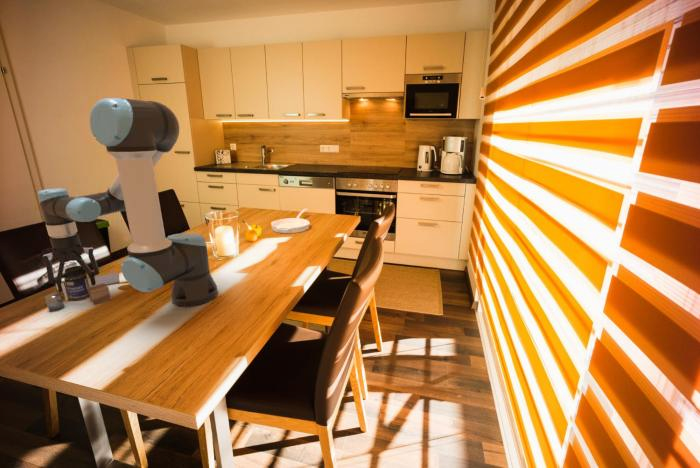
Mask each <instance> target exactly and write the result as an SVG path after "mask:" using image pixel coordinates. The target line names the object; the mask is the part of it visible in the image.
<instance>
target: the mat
mask: <svg viewBox="0 0 700 468" xmlns="http://www.w3.org/2000/svg"><path fill="white" fill-rule="evenodd" d="M119 275H120V274H119V272H112V273H108V274H103V275H98V276H97V275H96V276H94V277H95V281H96V284H95V285H99V284H102V283H105V284H106V285H107V286H108V287H109V286H111V285H112V286H113V285H117V284H120V276H119ZM95 285H93V286H95Z"/></svg>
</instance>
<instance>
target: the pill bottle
mask: <svg viewBox="0 0 700 468" xmlns="http://www.w3.org/2000/svg"><path fill="white" fill-rule="evenodd" d="M64 273H65V276H64V277H63V278H64V280H65V283H66V287H67V291H68V295H69V300H70V301H81V300H84V299H87V298H89V294H88V290H87V288H88V287H89V284H88V280H87V277H88V274H87V273H86V272H85V271H84V269H83V268H82V267H81V266H80V265H75V266H70V267H67V268H65V269H64Z"/></svg>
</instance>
